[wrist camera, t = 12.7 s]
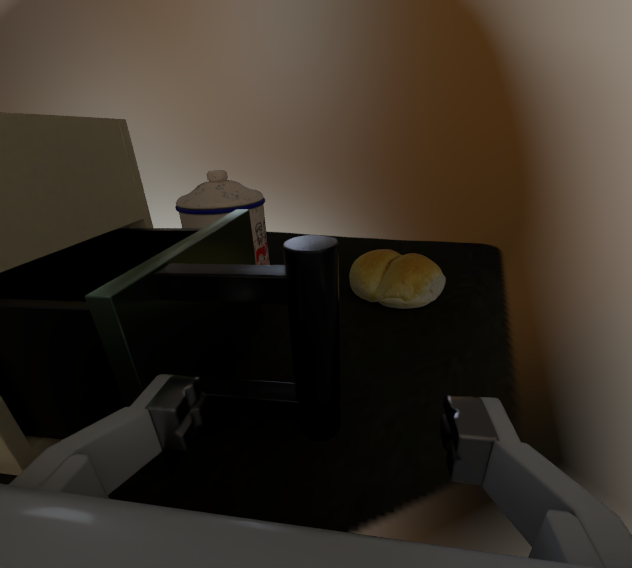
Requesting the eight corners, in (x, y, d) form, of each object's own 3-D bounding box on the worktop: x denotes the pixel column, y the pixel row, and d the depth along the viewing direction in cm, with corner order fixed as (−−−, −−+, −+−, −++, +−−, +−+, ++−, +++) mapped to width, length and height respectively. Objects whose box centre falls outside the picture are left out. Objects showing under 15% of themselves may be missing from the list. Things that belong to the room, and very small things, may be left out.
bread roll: (375, 268, 38) (377, 235, 36) (452, 288, 33) (457, 250, 31) (330, 293, 33) (330, 255, 31) (413, 322, 27) (417, 278, 25)
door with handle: (351, 322, 25) (352, 192, 21) (335, 497, 13) (329, 272, 9) (110, 311, 29) (70, 197, 24) (-83, 444, 16) (-228, 261, 12)
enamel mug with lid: (253, 297, 32) (236, 175, 28) (174, 290, 35) (146, 176, 30) (290, 256, 43) (283, 163, 38) (228, 253, 45) (214, 165, 40)
